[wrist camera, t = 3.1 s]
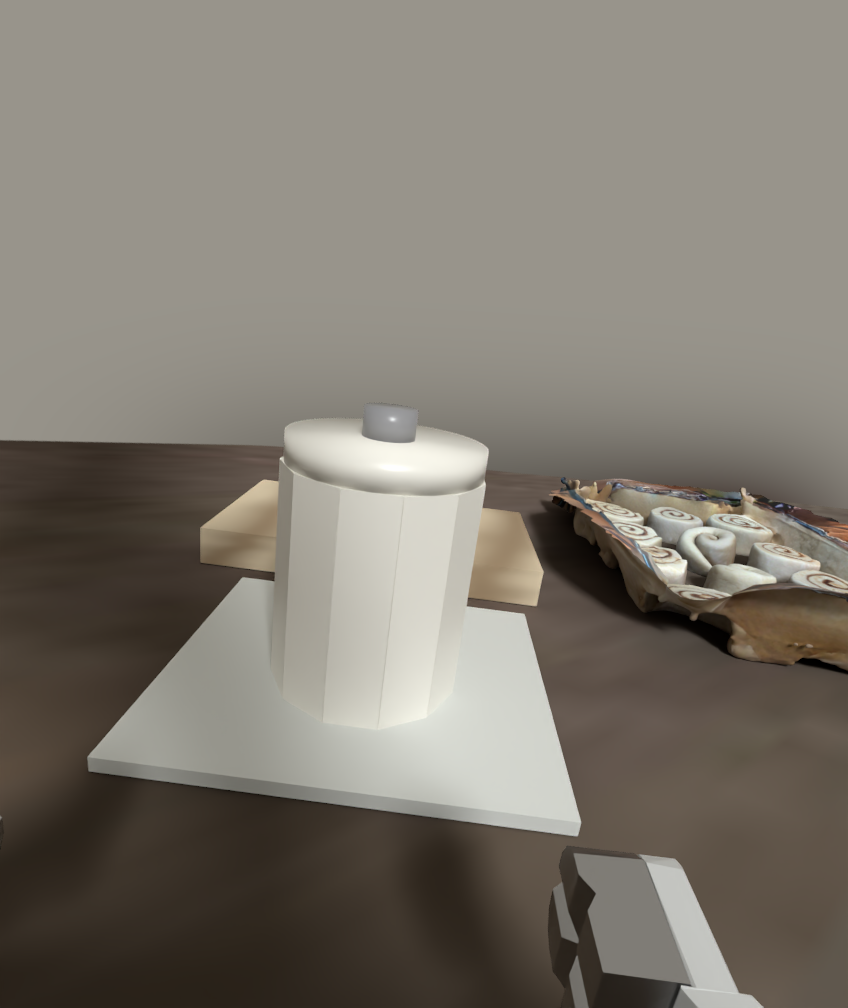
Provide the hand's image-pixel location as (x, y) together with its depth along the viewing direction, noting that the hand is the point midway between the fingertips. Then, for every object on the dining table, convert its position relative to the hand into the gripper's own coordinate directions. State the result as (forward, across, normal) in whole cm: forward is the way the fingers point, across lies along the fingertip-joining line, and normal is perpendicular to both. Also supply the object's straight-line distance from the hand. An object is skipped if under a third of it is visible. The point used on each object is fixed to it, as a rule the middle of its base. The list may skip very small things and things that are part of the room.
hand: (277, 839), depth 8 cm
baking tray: (+29, -21, +6) cm, 36 cm away
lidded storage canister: (+12, 0, +5) cm, 13 cm away
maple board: (+25, +1, +6) cm, 26 cm away
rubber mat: (+12, 0, +6) cm, 14 cm away
